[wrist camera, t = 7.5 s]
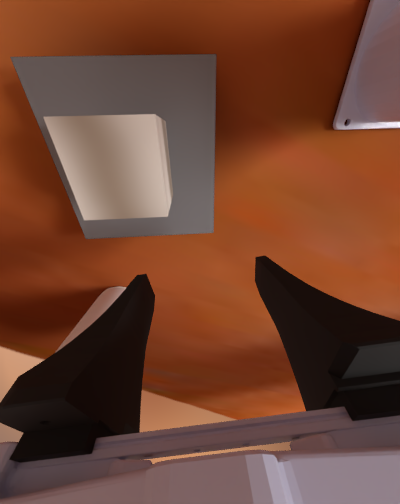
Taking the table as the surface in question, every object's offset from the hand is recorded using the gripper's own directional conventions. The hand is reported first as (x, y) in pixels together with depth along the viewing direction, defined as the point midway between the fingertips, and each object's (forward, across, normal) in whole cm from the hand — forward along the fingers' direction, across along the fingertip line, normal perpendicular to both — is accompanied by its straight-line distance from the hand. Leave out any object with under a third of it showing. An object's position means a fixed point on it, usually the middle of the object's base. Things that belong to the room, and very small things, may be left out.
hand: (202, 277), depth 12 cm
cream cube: (+6, +4, -7) cm, 10 cm away
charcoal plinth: (+9, +4, -6) cm, 12 cm away
